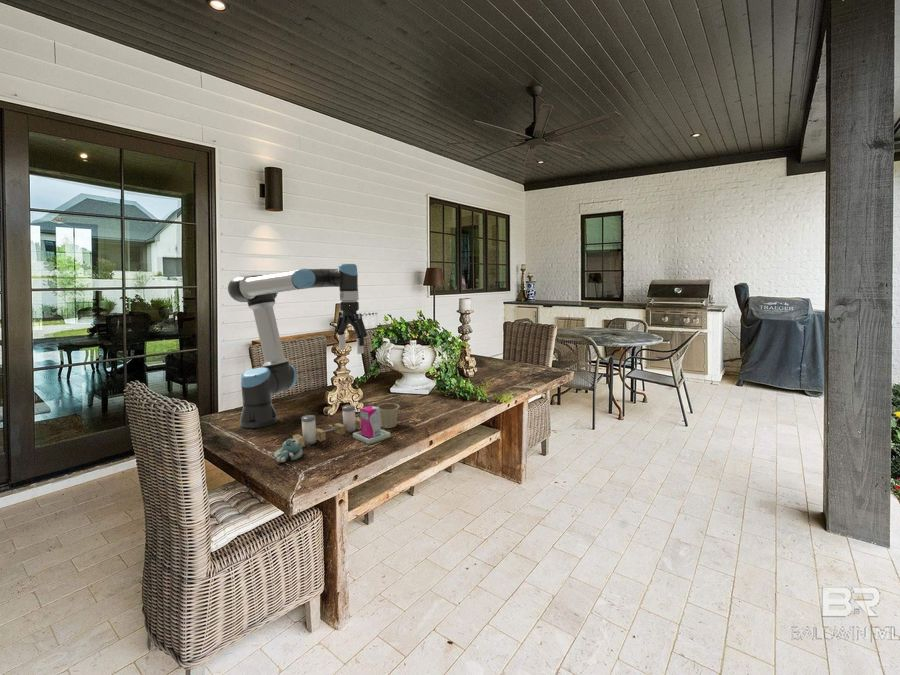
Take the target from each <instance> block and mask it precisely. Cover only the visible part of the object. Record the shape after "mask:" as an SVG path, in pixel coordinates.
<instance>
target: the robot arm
mask: <svg viewBox="0 0 900 675" xmlns="http://www.w3.org/2000/svg"><path fill="white" fill-rule="evenodd" d="M357 266H358V265H357V264H355V263H340V264H338V267H337V268H300V269H296V270H293V271H292V270H291V271H286V272H285V271H284V272H281V273H280V272H279V273H272V274H267V275H260V274H259V275H258V274H257V275H254V274H253V275H239V276H235V277H233V278H232V279H231V280H230V281H229V283H228V285H227V291H228V294H229V296H230V297H231V299H232V300H234V301H236V302H239V303H247V306H248V308H249V309H251V310H252V312H253V316H254V320H255V325H256V330H257V333H258V338H259V343H260V347H261V351H262V357H263V360H264V363H263V364H262V366H261V367H256V368H251V369H248V370H246V371H244V372H243V373H242V374H241V377H240V386H241V398H242V411H241V413H240V418H239V425H240V427H241V428H245V429H257V428H259V429H260V428H264V427H268V426H273V425H274V424H276V423H277V422H278V414H277V413H276V409H275V408H274V406H273V399H272V398H273V397H272V396H274V395H276V394H279V393H281V392H286V391H288V390H290V389H292V388H293V387H294V386H295V384H296V383H297V380H298V372H297V370H296V368H295V367H294V366H293V365H292V364H290V362H289V361H290V360H289V359H288V358H286V357H285V355H284V351H283V346H282V341H281V337H280V332H279V329H278V324H277V319H276V315H275V314H276V313H275V311H274V306H275V304H276V298H277V296H278V293H284V292H289V291H290V292H291V291H298V290H305V289H316V288H318V289H319V288H335V287H338V288H339V300H340V303H339V304H340V305H339V306H340V308H339V309H340V311H339V312H338V318H337V322H336V326H335V330H334V331H335V333H336V334H337V335H338V344H339V345H338V346H339V351H346V350H347V346H346V345H347V344H346V330H347V328H348V326H349V325H351V326H352V328H353V329H354V332H355V334H356V336H357V337H356V353H357V355H360V354H364V353H365V348H364V346H365V342H364V341H365V339H364V338H365V337H368V333H367V330H366V327H365V324H364V323H365V322H364V321H363V315H362V313H357V312H358V311H359V309H360V303H359V299H360V298H359V284H358V282H359V281H358V280H359V279H358V278H359V276H358V275H359V273H358V267H357ZM349 305H350V306H349Z"/></svg>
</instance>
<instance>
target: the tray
mask: <svg viewBox="0 0 900 675" xmlns="http://www.w3.org/2000/svg"><path fill="white" fill-rule="evenodd" d="M391 434H392V433H391V432H390V431H387V430H384V429H382V428H381V435H380V436H376V437H373V438H370V439H368V438H366V437H363V436H361V430H359V431H354V432H352V438H353V439H355V440H358V441H360V442H362V443H364V444H367V445H371V444H374V443H377V442H380V441H381V442H382V441H384V440H386V439H389V438H392V437H391Z"/></svg>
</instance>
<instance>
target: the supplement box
mask: <svg viewBox="0 0 900 675" xmlns="http://www.w3.org/2000/svg"><path fill="white" fill-rule="evenodd" d="M359 417H360V418H359V419H360V420H361V430H360V431H361V436H363V437H366V438H368V439H370V438H373V437H376V436H380V435H381V429H382V426H381V419H380V408H379V407H377V406H374V405H368V406H364V407H361V408H359Z"/></svg>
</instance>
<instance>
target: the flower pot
mask: <svg viewBox="0 0 900 675" xmlns="http://www.w3.org/2000/svg"><path fill="white" fill-rule="evenodd" d="M376 407H379V408H380V422H381V428H385V429H392V428H394V427H395V428H396V426H397V421H398V412H399V408H400V405H399V404H398V403H392V402H391V403H390V402H389V403H382V404H379V405H377V406H376Z"/></svg>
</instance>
